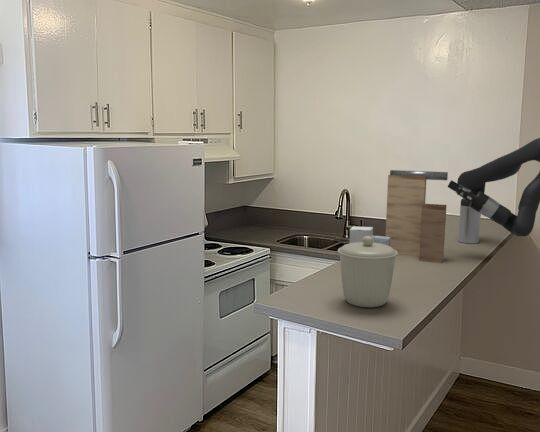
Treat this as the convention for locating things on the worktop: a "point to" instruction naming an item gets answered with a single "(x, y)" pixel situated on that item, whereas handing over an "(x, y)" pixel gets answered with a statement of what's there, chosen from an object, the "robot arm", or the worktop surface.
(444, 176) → the pin
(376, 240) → the medicine box
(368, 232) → the skincare box
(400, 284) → the worktop surface
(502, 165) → the robot arm
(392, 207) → the stand
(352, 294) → the canister
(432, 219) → the tall wooden post
